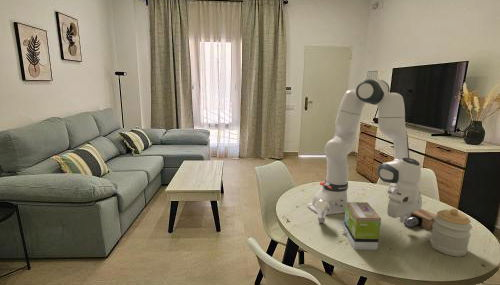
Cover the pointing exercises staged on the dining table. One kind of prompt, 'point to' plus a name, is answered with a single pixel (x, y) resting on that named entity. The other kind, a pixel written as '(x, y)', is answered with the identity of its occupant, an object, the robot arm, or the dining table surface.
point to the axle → (413, 221)
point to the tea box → (362, 225)
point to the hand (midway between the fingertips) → (403, 221)
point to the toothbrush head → (391, 188)
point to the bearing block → (424, 218)
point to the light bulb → (322, 209)
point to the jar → (451, 232)
